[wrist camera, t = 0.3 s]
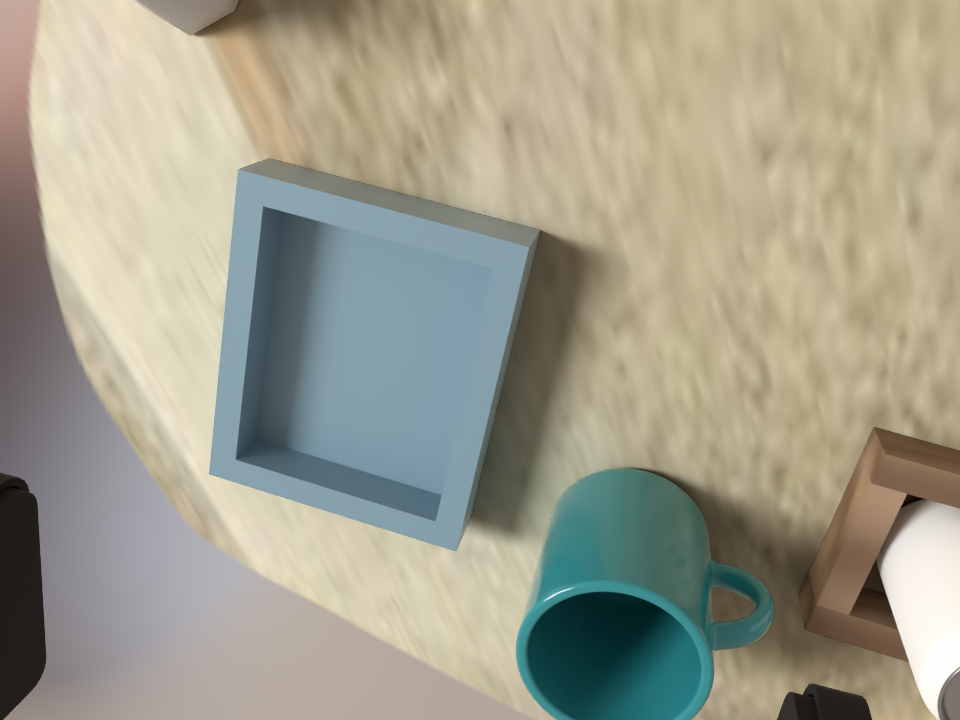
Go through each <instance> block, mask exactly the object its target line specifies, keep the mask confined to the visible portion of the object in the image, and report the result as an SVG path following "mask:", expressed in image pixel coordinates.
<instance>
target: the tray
mask: <svg viewBox="0 0 960 720" xmlns="http://www.w3.org/2000/svg"><path fill="white" fill-rule="evenodd" d="M539 234H540V230H538V229H534V228H530V227H527V226H523V225H519V224H515V223H511V222H508V221H504V220H500V219H496V218H492V217H489V216H485V215H481V214H477V213H474V212H470V211H466V210H462V209H458V208H455V207H451V206H447V205H443V204H439V203H436V202H432V201H428V200H424V199H421V198H417V197H413V196H409V195H405V194H402V193H398V192H394V191H390V190H386V189H383V188H379V187H375V186H371V185H368V184H364V183H360V182H356V181H352V180H349V179H345V178H341V177H337V176H333V175H330V174H326V173H322V172H318V171H315V170H311V169H307V168H303V167H299V166H296V165H292V164H288V163H284V162H280V161H277V160H273V159H269V158H268V159H266V160H263V161H260V162H257V163H254V164H252V165H249V166H246V167H243V168H241V169H238V176H237V187H236V198H235V208H234V219H233V229H232V240H231V250H230V261H229V271H228V282H227V292H226V303H225V313H224V324H223V334H222V345H221V355H220V366H219V376H218V387H217V398H216V408H215V419H214V429H213V440H212V450H211V461H210V471H209V474H210V475H213V476H216V477H220V478H223V479H226V480H229V481H232V482H236V483H239V484H242V485H245V486H248V487H252V488H255V489H258V490H261V491H264V492H268V493H271V494H274V495H277V496H280V497H284V498H287V499H290V500H293V501H296V502H300V503H303V504H306V505H309V506H312V507H316V508H319V509H322V510H325V511H328V512H332V513H335V514H338V515H341V516H344V517H348V518H351V519H354V520H357V521H360V522H364V523H367V524H370V525H373V526H376V527H380V528H383V529H386V530H389V531H392V532H396V533H399V534H402V535H405V536H408V537H412V538H415V539H418V540H421V541H424V542H428V543H431V544H434V545H437V546H440V547H444V548H447V549H450V550H453V551H457V549H458V546H459V544H460V542H461V539H462V537H463V535H464V532H465V530H466V528H467V525H468V523H469V521H470V518H471V514H472V510H473V506H474V502H475V498H476V494H477V490H478V485H479V481H480V477H481V473H482V469H483V465H484V461H485V457H486V453H487V448H488V444H489V440H490V436H491V432H492V428H493V424H494V420H495V415H496V411H497V407H498V403H499V399H500V395H501V391H502V387H503V383H504V378H505V374H506V370H507V366H508V362H509V358H510V354H511V350H512V346H513V341H514V337H515V333H516V329H517V325H518V321H519V317H520V313H521V309H522V304H523V300H524V296H525V292H526V288H527V284H528V280H529V276H530V272H531V267H532V263H533V259H534V255H535V251H536V247H537V243H538V239H539Z"/></svg>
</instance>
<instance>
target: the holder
mask: <svg viewBox="0 0 960 720" xmlns="http://www.w3.org/2000/svg"><path fill="white" fill-rule="evenodd" d="M907 494H910V495H913V496H917V497H920V498H924V499H927V500H931V501H934V502H938V503H941V504H945V505H948V506H952V507H955V508H959V509H960V451H957V450H954V449H950V448H947V447H943V446H940V445H936V444H932V443H929V442H925V441H922V440H918V439H914V438H911V437H907V436H904V435H900V434H896V433H893V432H889V431H886V430H882V429H879V428H875V427H874V428H873V430H872V432H871V435H870V437H869V439H868V441H867V444H866V446H865V448H864V450H863V453H862V455H861V457H860V459H859V462H858V464H857V466H856V468H855V470H854V473H853V475H852V477H851V479H850V482H849V484H848V486H847V488H846V491H845V493H844V495H843V497H842V500H841V502H840V504H839V506H838V509H837V511H836V513H835V515H834V518H833V520H832V522H831V524H830V527H829V529H828V531H827V533H826V536H825V538H824V540H823V542H822V545H821V547H820V549H819V551H818V554H817V556H816V558H815V560H814V563H813V565H812V567H811V569H810V572H809V574H808V576H807V578H806V580H805V583H804V585H803V587H802V589H801V592H800V594H799V601H800V606H801V612H802V617H803V623H804V628H805V630H806V631H810V632H813V633H816V634H819V635H822V636H826V637H829V638H832V639H835V640H839V641H842V642H845V643H848V644H852V645H855V646H858V647H861V648H865V649H868V650H871V651H874V652H878V653H881V654H884V655H887V656H891V657H894V658H897V659H900V660H904V661H907V662H909V660H908V657H907V654H906V651H905V648H904V645H903V642H902V639H901V636H900V633H899V630H898V627H897V624H896V621H895V618H894V615H893V612H892V609H891V606H890V603H889V600H888V597H887V595H885V594H881V593H878V592H875V591H871V590H868V589H865V588H862V587H863V585H864V583H865V581H866V579H867V577H868V574H869V572H870V570H871V568H872V566H873V564H874V562H875V560H876V558H877V556H878V554H879V552H880V549H881V547H882V545H883V543H884V541H885V539H886V537H887V535H888V533H889V531H890V529H891V527H892V524H893V522H894V520H895V518H896V516H897V514H898V512H899V510H900V508H901V506H902V504H903V502H904V499H905V497H906V495H907Z"/></svg>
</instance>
